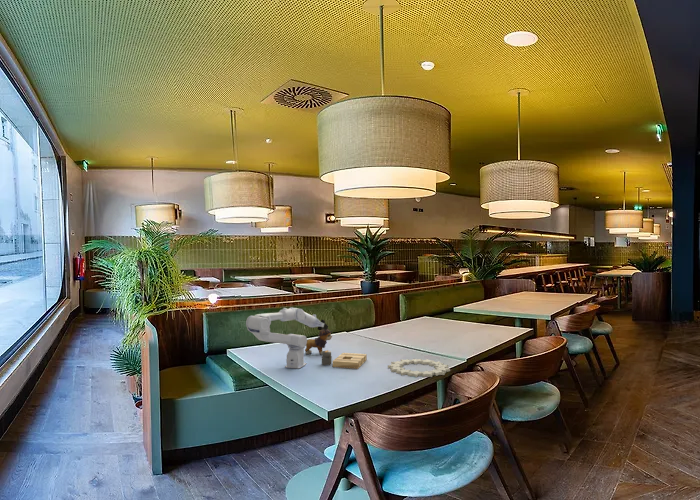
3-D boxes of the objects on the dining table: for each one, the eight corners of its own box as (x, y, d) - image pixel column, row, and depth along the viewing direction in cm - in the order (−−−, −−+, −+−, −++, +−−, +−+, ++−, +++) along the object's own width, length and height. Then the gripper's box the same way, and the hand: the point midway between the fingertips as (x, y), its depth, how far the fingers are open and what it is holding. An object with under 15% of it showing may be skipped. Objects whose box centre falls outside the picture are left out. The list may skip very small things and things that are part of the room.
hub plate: (357, 368, 217) (357, 362, 217) (332, 367, 221) (332, 360, 221) (366, 359, 235) (366, 353, 234) (343, 358, 238) (343, 352, 238)
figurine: (331, 356, 243) (331, 328, 243) (294, 354, 248) (293, 327, 247) (334, 353, 250) (334, 326, 250) (298, 351, 254) (297, 325, 254)
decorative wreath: (448, 362, 229) (390, 360, 234) (448, 359, 229) (390, 357, 234) (451, 379, 200) (385, 376, 205) (451, 376, 200) (384, 373, 205)
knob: (329, 365, 223) (329, 352, 223) (320, 365, 224) (320, 351, 224) (332, 363, 227) (332, 350, 227) (323, 363, 229) (323, 349, 229)
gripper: (319, 314, 226) (334, 322, 236) (299, 309, 235) (314, 316, 246) (314, 327, 225) (329, 334, 235) (294, 321, 234) (310, 328, 244)
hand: (321, 326), depth 240 cm, fingers open, 7 cm apart
